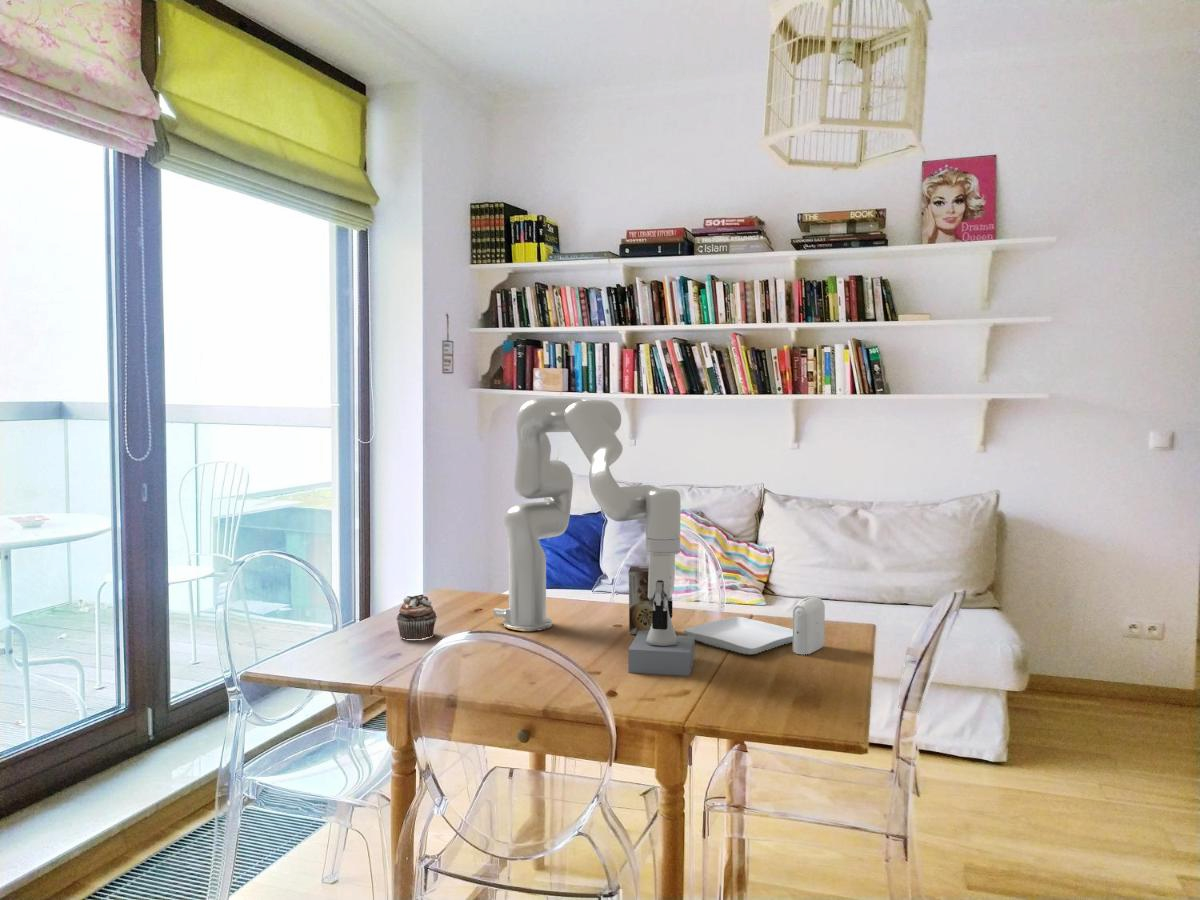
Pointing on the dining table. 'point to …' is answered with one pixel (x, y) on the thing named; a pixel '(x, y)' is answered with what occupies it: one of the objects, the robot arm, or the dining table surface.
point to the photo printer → (808, 625)
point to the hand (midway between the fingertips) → (662, 623)
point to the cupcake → (416, 618)
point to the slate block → (662, 656)
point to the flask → (663, 634)
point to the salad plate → (741, 635)
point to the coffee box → (639, 601)
